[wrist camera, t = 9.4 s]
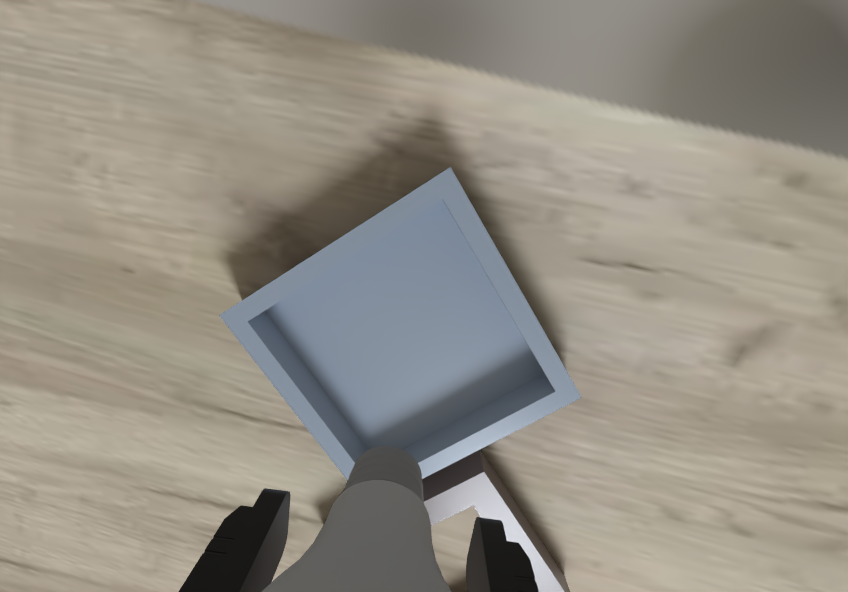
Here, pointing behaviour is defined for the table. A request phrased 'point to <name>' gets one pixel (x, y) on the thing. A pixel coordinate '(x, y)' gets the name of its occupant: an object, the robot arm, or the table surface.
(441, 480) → the brownish grey square frame
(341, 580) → the lightbulb
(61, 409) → the table surface
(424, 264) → the tray
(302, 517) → the table surface
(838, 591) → the table surface
